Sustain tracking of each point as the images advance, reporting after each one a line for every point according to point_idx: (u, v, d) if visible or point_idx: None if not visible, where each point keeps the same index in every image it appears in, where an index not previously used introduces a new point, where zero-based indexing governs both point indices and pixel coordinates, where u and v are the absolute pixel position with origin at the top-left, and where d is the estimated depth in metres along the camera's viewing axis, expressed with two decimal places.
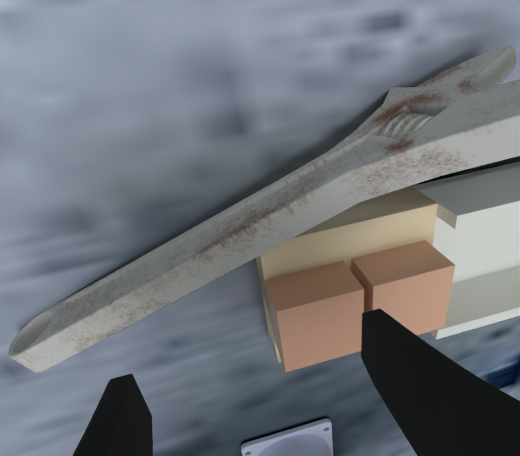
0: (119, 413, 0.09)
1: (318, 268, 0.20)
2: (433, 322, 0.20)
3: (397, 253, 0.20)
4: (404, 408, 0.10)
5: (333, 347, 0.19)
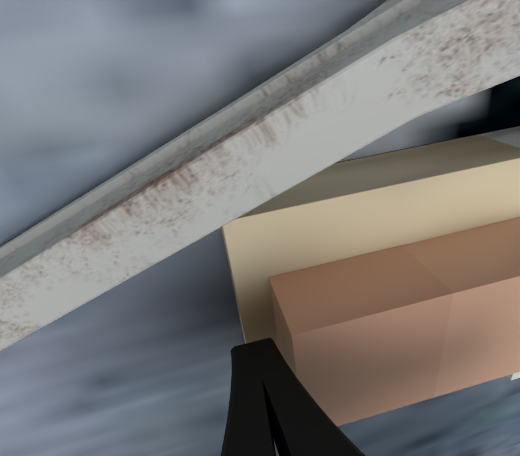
0: (260, 374, 0.09)
1: (360, 257, 0.11)
2: None
3: (480, 236, 0.12)
4: (279, 446, 0.09)
5: (387, 394, 0.11)
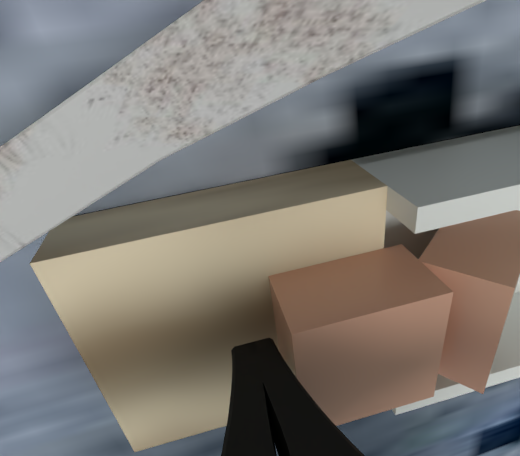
0: (260, 374, 0.09)
1: (360, 256, 0.11)
2: None
3: (458, 227, 0.12)
4: (279, 446, 0.09)
5: (386, 393, 0.11)
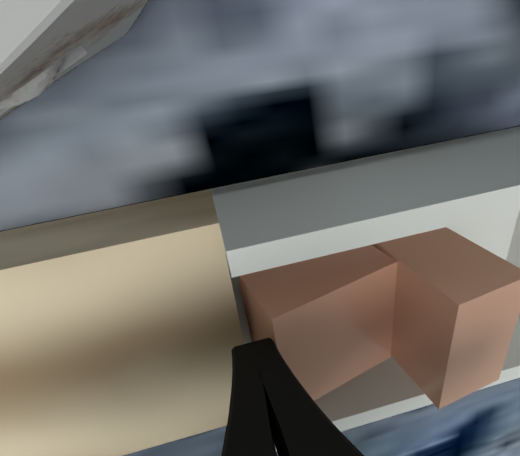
0: (260, 374, 0.09)
1: None
2: None
3: (409, 252, 0.11)
4: (278, 446, 0.09)
5: (354, 361, 0.13)
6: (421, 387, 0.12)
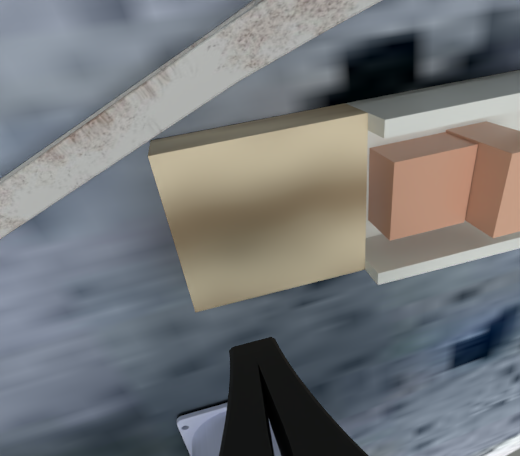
0: (258, 374, 0.09)
1: (421, 137, 0.20)
2: None
3: (481, 137, 0.18)
4: (281, 445, 0.09)
5: (438, 214, 0.19)
6: (481, 229, 0.19)
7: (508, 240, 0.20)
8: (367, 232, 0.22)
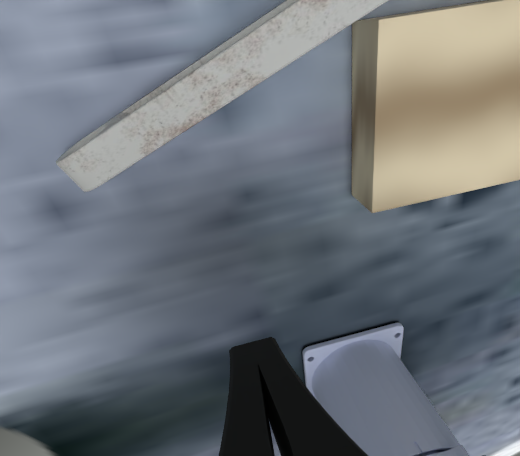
0: (258, 375, 0.09)
1: None
2: None
3: None
4: (281, 445, 0.09)
5: None
6: None
7: None
8: None
